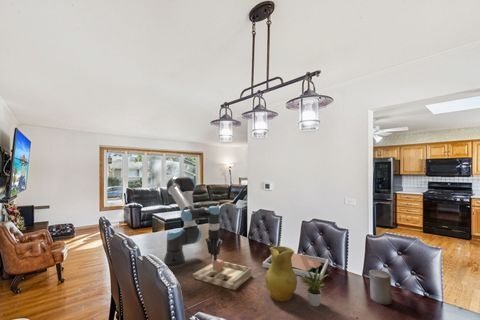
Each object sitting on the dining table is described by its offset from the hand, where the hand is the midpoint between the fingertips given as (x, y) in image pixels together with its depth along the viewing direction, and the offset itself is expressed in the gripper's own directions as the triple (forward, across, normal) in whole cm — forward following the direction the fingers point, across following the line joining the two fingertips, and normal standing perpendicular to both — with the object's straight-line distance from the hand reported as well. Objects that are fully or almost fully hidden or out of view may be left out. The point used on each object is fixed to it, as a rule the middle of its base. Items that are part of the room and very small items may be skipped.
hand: (213, 264), depth 156 cm
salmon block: (+2, +3, 0) cm, 4 cm away
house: (+5, +46, +38) cm, 60 cm away
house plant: (+6, +68, -4) cm, 69 cm away
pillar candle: (+6, +97, +16) cm, 99 cm away
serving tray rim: (+5, +46, +38) cm, 60 cm away
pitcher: (+5, +50, -5) cm, 51 cm away
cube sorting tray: (+5, +9, -4) cm, 11 cm away
